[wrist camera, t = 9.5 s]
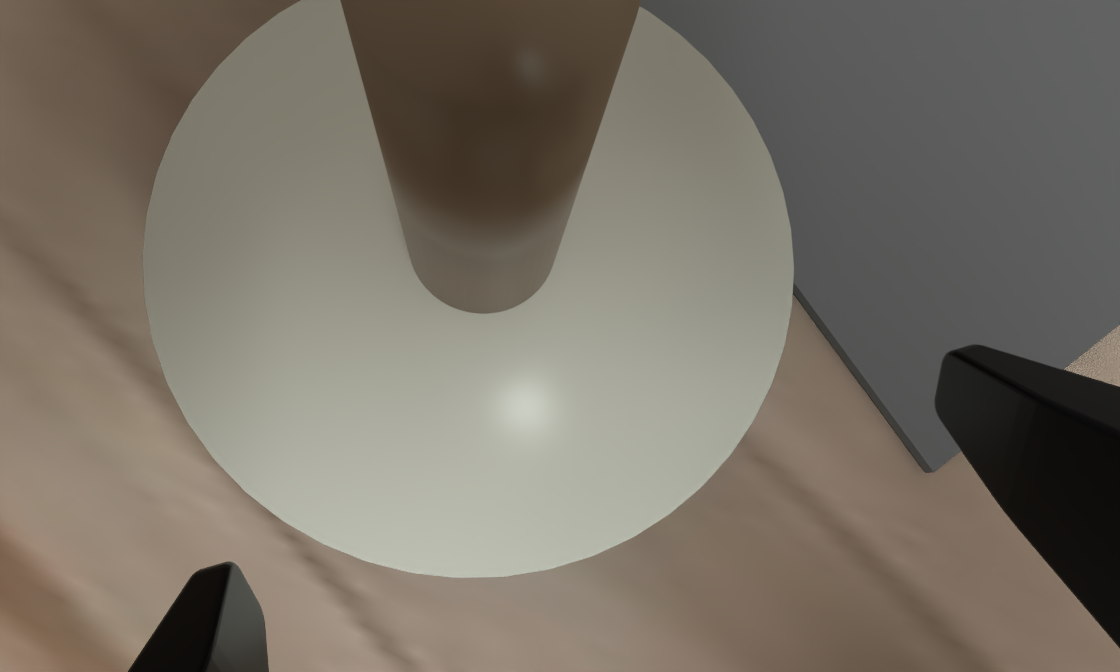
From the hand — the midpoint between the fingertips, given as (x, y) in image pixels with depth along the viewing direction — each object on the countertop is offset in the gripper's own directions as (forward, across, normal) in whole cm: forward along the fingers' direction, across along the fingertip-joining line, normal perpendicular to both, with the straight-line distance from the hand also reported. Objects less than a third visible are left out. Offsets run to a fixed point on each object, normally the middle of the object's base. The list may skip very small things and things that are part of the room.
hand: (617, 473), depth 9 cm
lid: (+9, 0, +2) cm, 9 cm away
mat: (+13, -15, +3) cm, 21 cm away
